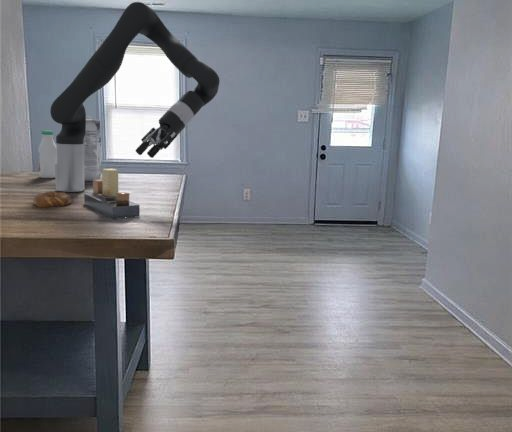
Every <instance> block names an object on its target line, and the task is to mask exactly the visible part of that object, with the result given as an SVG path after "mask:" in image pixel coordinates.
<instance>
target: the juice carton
mask: <svg viewBox="0 0 512 432" xmlns="http://www.w3.org/2000/svg"><path fill="white" fill-rule="evenodd" d="M101 139H102V138H101V121H100V119H95V118H94V119H92V116H90V115H86V132H85V137H84V140H83V144H84V182H93V180H94V179H101V175H102V140H101Z"/></svg>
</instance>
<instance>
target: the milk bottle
mask: <svg viewBox="0 0 512 432" xmlns="http://www.w3.org/2000/svg"><path fill="white" fill-rule="evenodd" d="M37 151H38V175H39V178H42V179H55V165H56V164H57V149H56V142H55V141H54V131H53V130H41V141H40V143H39V146H38V150H37Z"/></svg>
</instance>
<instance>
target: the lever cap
mask: <svg viewBox="0 0 512 432" xmlns="http://www.w3.org/2000/svg"><path fill="white" fill-rule="evenodd" d="M101 175H102V179H101V180H102V185H103V196H104V197H107V198H109V197H116V193H119V170H118V169H116V168H101Z"/></svg>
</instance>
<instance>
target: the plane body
mask: <svg viewBox="0 0 512 432" xmlns="http://www.w3.org/2000/svg"><path fill="white" fill-rule="evenodd" d="M92 189H93V190H92V192H88V193H87V192H86V193H85V192H84V193H83V199H84V202H83V203H84V205H85V206H87V207H88V208H90V209H93V210H94V211H97V212H98V213H101V214H102V215H104V216H106V217H107V218H109V217H110V218H109V219H111V218H112V219H111V220H117V219H116V218H121V219H126V218H125V217H132V218H136V217H135V216H140V212H141V211H140V204H138V203H135V202H134V201H131V200H130V193H129V192H124V191H123V192H122V191H121V192H118V193H116V197H109V198H107V197H104V196H103V185H102V179H101V178H100V179H94V180H93V181H92Z"/></svg>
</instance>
